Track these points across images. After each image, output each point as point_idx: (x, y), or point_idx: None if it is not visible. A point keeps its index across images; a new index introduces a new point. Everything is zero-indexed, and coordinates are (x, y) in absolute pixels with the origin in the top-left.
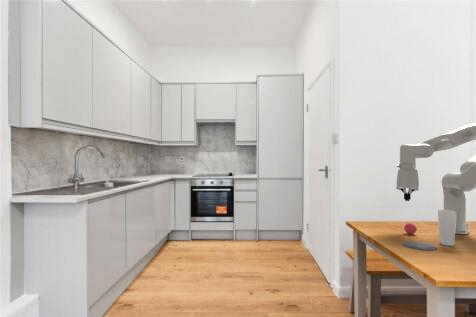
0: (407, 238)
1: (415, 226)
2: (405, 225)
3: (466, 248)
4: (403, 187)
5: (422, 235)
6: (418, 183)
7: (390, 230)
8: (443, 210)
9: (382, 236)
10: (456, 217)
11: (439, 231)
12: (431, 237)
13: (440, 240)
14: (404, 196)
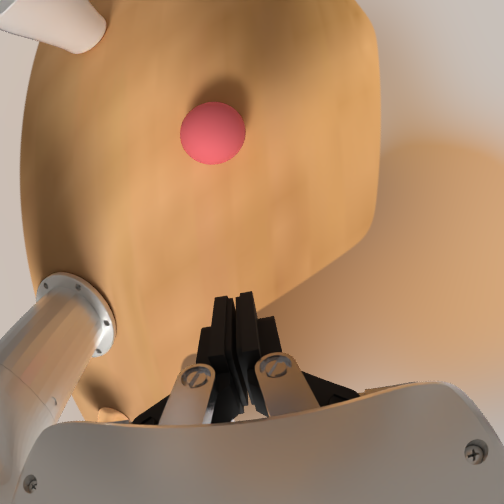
0: (224, 31)
1: (183, 126)
2: (238, 120)
3: None
4: (335, 403)
5: (160, 139)
6: (17, 485)
7: (312, 171)
8: (12, 5)
9: (326, 20)
10: (2, 8)
11: (89, 5)
12: (125, 121)
13: (102, 17)
14: (275, 334)
